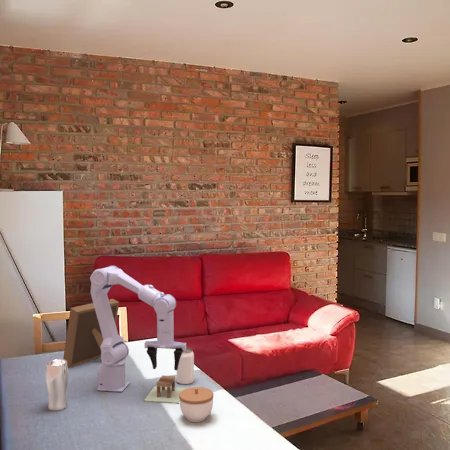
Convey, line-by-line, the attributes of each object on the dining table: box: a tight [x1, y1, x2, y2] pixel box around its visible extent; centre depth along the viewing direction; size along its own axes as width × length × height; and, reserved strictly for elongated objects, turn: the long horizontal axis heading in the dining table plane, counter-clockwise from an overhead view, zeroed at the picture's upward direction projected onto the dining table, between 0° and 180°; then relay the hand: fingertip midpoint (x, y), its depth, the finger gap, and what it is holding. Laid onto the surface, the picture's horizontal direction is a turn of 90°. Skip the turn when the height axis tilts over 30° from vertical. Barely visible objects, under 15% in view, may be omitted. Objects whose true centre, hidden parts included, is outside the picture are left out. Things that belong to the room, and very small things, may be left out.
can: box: [176, 347, 195, 385], centre depth 177 cm, size 6×6×12 cm
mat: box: [143, 385, 187, 405], centre depth 165 cm, size 12×12×1 cm
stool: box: [156, 375, 176, 398], centre depth 165 cm, size 7×5×5 cm, turn 172°
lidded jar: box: [179, 386, 214, 423], centre depth 148 cm, size 11×11×9 cm
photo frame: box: [62, 298, 120, 369], centre depth 197 cm, size 15×22×25 cm
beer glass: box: [45, 358, 69, 412], centre depth 155 cm, size 7×7×15 cm
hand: (165, 368), depth 164 cm, fingers open, 7 cm apart
